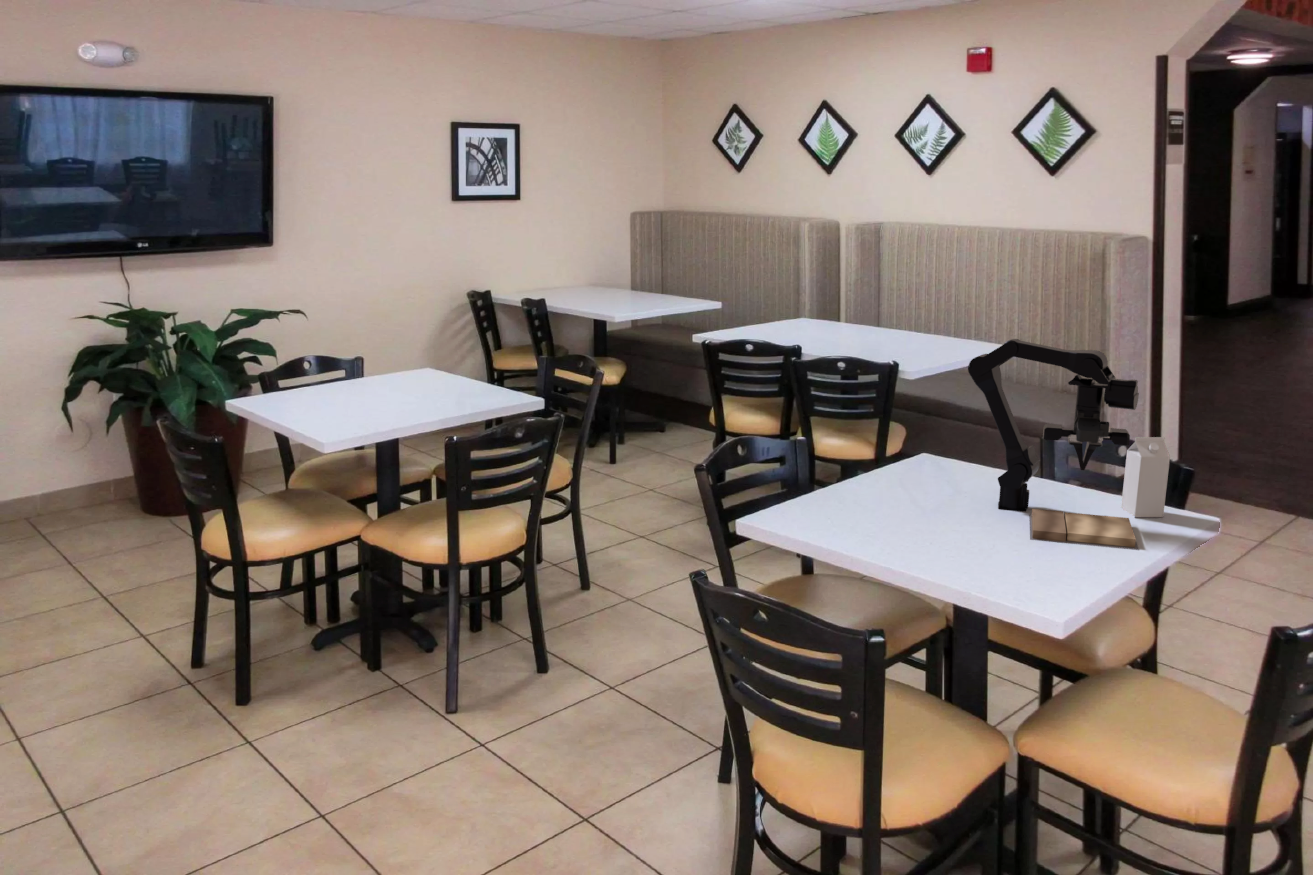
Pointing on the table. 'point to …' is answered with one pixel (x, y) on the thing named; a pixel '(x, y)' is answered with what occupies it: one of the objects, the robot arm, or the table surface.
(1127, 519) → the oak plank
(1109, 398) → the robot arm
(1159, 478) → the milk carton
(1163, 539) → the table surface
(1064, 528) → the walnut plank
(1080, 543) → the underlay mat
